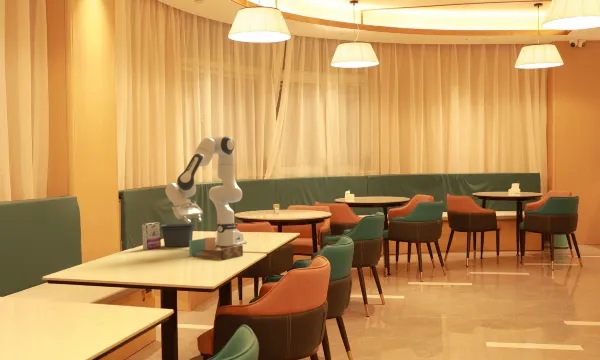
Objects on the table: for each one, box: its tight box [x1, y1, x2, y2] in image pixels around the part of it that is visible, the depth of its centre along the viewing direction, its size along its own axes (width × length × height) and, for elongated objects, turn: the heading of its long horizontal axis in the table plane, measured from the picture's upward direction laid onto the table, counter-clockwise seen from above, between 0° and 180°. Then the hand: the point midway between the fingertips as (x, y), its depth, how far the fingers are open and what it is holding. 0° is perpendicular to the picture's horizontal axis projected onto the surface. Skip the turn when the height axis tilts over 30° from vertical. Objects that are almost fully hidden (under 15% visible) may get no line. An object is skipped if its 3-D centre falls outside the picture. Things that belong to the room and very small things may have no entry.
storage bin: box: [160, 222, 196, 248], centre depth 428 cm, size 21×16×14 cm
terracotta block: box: [204, 236, 217, 250], centre depth 382 cm, size 4×4×9 cm
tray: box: [188, 237, 206, 258], centre depth 382 cm, size 17×16×9 cm
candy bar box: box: [141, 222, 162, 251], centre depth 417 cm, size 11×5×16 cm, turn 143°
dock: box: [200, 244, 244, 261], centre depth 377 cm, size 18×16×6 cm
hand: (195, 222), depth 388 cm, fingers open, 8 cm apart
